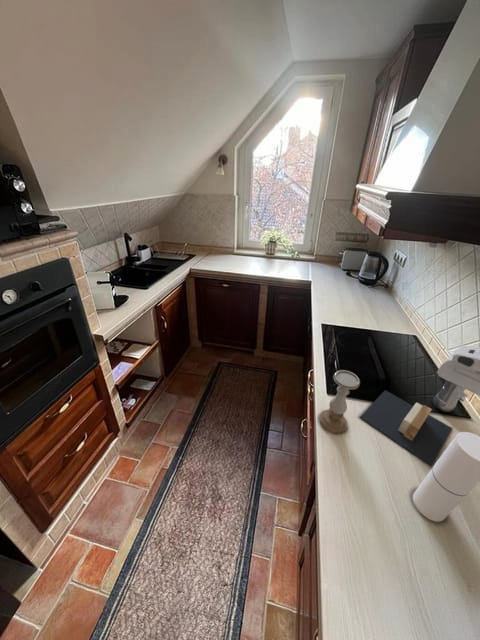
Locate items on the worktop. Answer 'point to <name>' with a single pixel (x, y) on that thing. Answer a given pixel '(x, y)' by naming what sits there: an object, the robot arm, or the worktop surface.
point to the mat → (389, 418)
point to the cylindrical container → (450, 478)
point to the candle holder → (339, 402)
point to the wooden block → (414, 420)
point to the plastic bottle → (446, 397)
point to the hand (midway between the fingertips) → (471, 404)
